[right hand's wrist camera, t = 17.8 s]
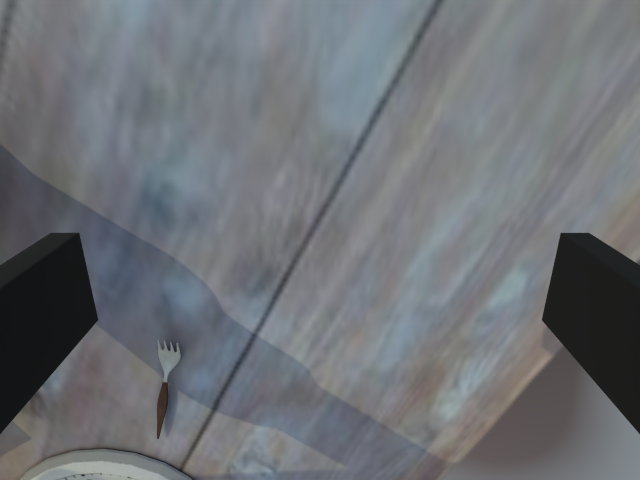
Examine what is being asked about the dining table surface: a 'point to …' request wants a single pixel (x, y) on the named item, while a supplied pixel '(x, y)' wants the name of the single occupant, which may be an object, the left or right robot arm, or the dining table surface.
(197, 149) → the dining table surface
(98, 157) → the dining table surface
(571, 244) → the right robot arm
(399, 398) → the dining table surface
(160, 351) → the fork
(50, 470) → the wall clock
